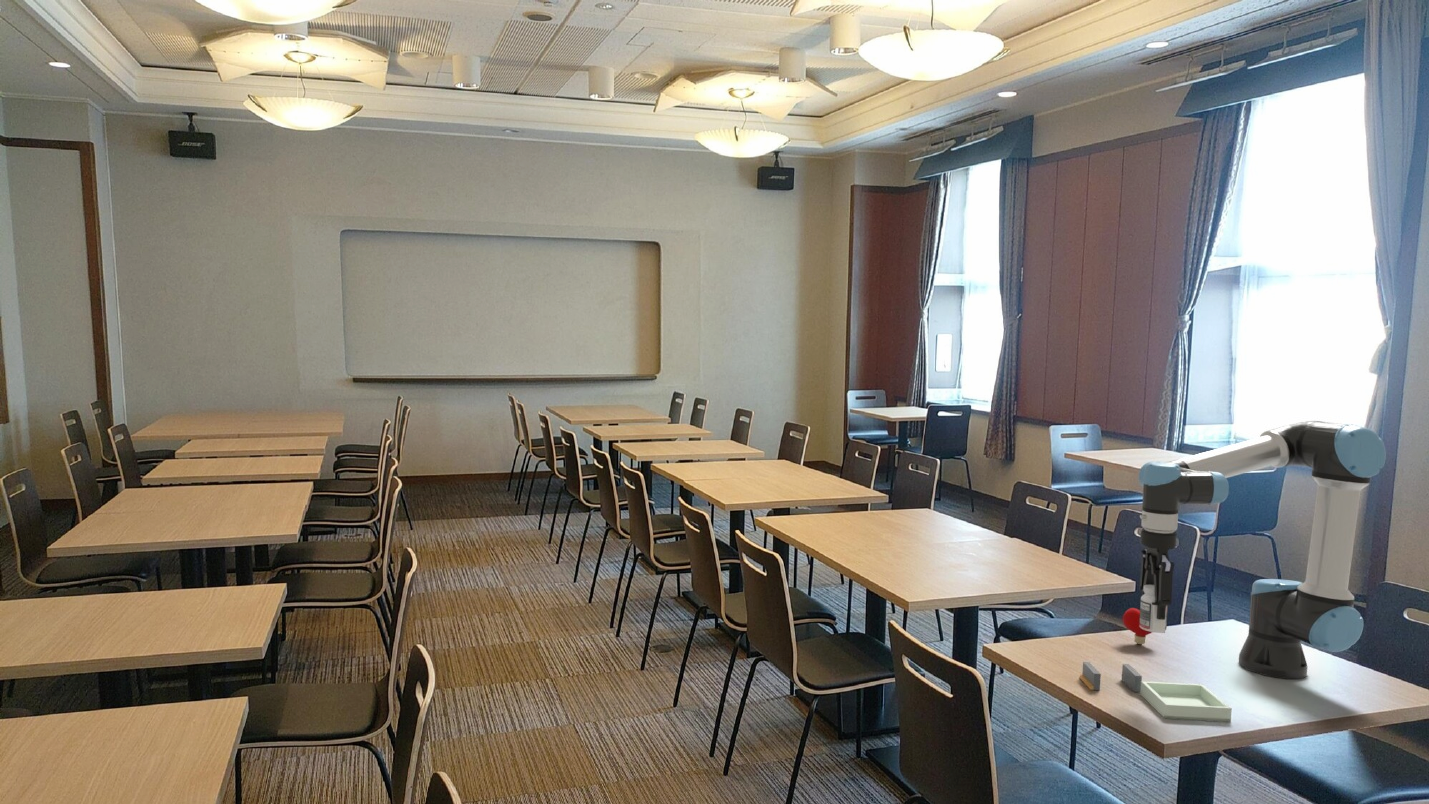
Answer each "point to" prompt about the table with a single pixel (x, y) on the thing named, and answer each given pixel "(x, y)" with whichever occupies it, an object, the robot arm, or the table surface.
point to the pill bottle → (1148, 608)
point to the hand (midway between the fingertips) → (1153, 627)
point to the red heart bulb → (1135, 625)
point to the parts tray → (1185, 701)
